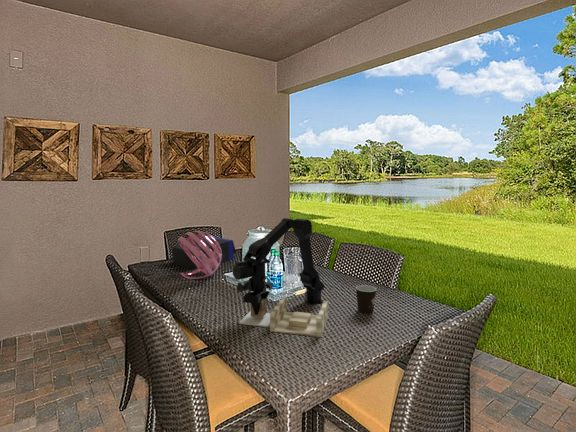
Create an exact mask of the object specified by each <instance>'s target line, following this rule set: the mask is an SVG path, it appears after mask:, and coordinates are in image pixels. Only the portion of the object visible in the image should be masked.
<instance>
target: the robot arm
mask: <svg viewBox="0 0 576 432" xmlns="http://www.w3.org/2000/svg"><path fill="white" fill-rule="evenodd" d="M291 229H292V230H293V232H294V235H295V237H296V238H297V239H298V242H299V244H298V246H299V248H300V249H299V250H300V256H301V262H302V271H301V272H299V273H298V275H299V280H300V282H301V284H302V286H303V288H305V292H304V301H305V302H307V303H308V304H309V305H315V304H321V303H322V304H323V300H322V291H324V289H325V284H324V283H323V282H322V281H321V278H320V274H319V273H318V271H317V269H316V268H315V264H314V258H313V252H312V245H311V238H310V237H311V236H312V233H313V223H312V221H311V220H310V219H306V218H305V219H304V218H296V219H293V218H288V217H284V218H282V219H281V221H280V222H279V223H278V224H277V225H276V226H274V228H272V229H271V230H269V232H268V233H267V234H266V235H265V236H264V237H262V238H260V239H257V240H256V241H254V242H252V243H251V244H250V245H249V246H248V250H247V252H246V254H245V255H244V257H243V259H242V261H235V263H234V264H235V265H233V268H232V275H233V278H234V279H235V280H237V281H238V280H243V279H247V278H249V279H247V280H244V281H241V282H238V283H237V284H236V290H237V291H238V292H239V293H243V292H245V291H248V292H247V293H245V294H244V296H242V302H243V303H248V304H250V305H251V304H252V307H253V310H254V313H255V315H258V313H259V310H260V307H261V304H262V301H263V299H266V301H267V300H268V296H269V295H270V293H271V292H270V291H272V290H273V284H272V282H271V281H266V280H267V279H268V276H267V275H266V264H269V263H270V260H269V259H268V258H267V256H268V255H269V254H270V253H271V251H272V247H273V246H274V245H275V244H276V243H277V242H278V241H279V240H280V239H282V237H283V236H284V235H285V234H287V232H289V230H291ZM267 289H268V290H269V291H268V290H267ZM261 298H263V299H261Z"/></svg>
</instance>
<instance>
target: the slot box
mask: <svg viewBox="0 0 576 432" xmlns="http://www.w3.org/2000/svg"><path fill="white" fill-rule="evenodd" d="M269 313H270V325H269V331H270V332H275V333H284V334H291V335H299V336H308V337H314V338H315V337H317V338H322V335H323V332H324V329H325V327H326V324H327V322H328V318H329V301H328V300H324V301H323V302H322V305H321V307H320V310H319V312H318V314H312V313H311V312H302V311H294V312H291V311H288V297H287V296H282V298H281V299H280V301H278V303H277V304H276V305H275V306H274V308H273V309H272V310H271V311H270V312H269Z"/></svg>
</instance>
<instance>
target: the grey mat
mask: <svg viewBox="0 0 576 432" xmlns="http://www.w3.org/2000/svg"><path fill="white" fill-rule="evenodd" d="M270 313H271V312H267V313H266V314H265V315H264V317H263V318H261V317H252V316H251V310H250V311H249V312H247V314H246V315H245V316H244V317H243V318H242V319H241V320H240V321H239V322H238V323H239V325H245V326H246V325H247V326H248V325H249V326H255V327H262V328H270Z"/></svg>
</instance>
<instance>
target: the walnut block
mask: <svg viewBox="0 0 576 432" xmlns="http://www.w3.org/2000/svg"><path fill="white" fill-rule="evenodd" d="M261 299H263V298H261ZM250 311H251V316H252V317H261V318H263V317H264V315H265V314H266V313H268V311H267V300H266V299H263V301H262V304H261V307H260V310H259V313H258V315H255V313H254V310H253V307H252V304H251V303H250Z"/></svg>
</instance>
